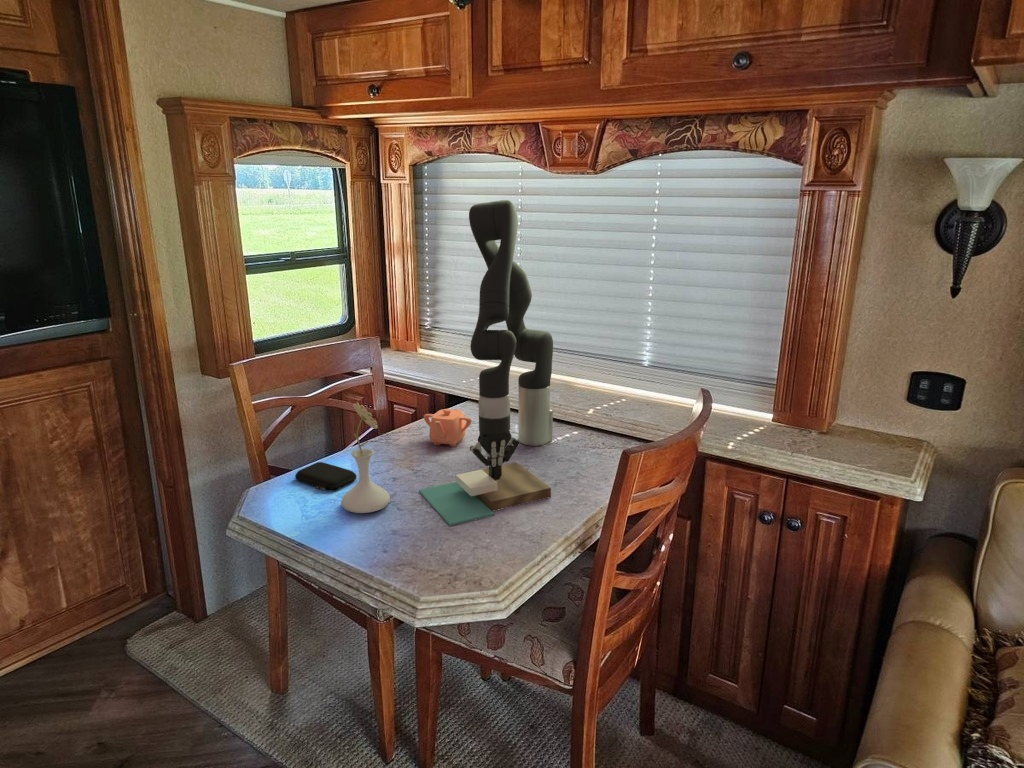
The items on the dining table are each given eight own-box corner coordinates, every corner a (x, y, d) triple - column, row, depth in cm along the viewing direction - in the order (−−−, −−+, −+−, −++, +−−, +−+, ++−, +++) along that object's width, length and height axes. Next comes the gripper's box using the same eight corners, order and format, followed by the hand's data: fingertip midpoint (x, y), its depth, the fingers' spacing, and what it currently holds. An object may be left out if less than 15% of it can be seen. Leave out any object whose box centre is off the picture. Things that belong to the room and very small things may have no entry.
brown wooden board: (516, 470, 181) (516, 461, 181) (550, 497, 166) (550, 487, 165) (460, 482, 174) (460, 473, 174) (491, 511, 159) (491, 501, 158)
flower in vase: (393, 514, 158) (387, 411, 151) (342, 521, 155) (334, 416, 148) (386, 490, 170) (381, 395, 163) (339, 496, 167) (331, 399, 160)
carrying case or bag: (288, 483, 175) (329, 497, 168) (287, 472, 174) (328, 485, 167) (320, 469, 184) (360, 481, 176) (319, 458, 183) (359, 470, 175)
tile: (481, 476, 172) (481, 469, 171) (497, 490, 164) (497, 482, 163) (456, 482, 169) (455, 474, 168) (471, 496, 161) (470, 488, 160)
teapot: (421, 437, 206) (420, 405, 203) (458, 431, 210) (457, 400, 207) (436, 453, 193) (435, 419, 190) (475, 447, 198) (475, 414, 195)
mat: (459, 482, 174) (459, 481, 174) (494, 515, 157) (494, 513, 157) (418, 491, 169) (418, 489, 169) (449, 526, 152) (449, 524, 152)
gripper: (511, 403, 169) (511, 468, 174) (462, 412, 163) (464, 478, 168) (526, 412, 163) (526, 479, 168) (475, 421, 157) (477, 490, 162)
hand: (495, 478), depth 168 cm, fingers closed
